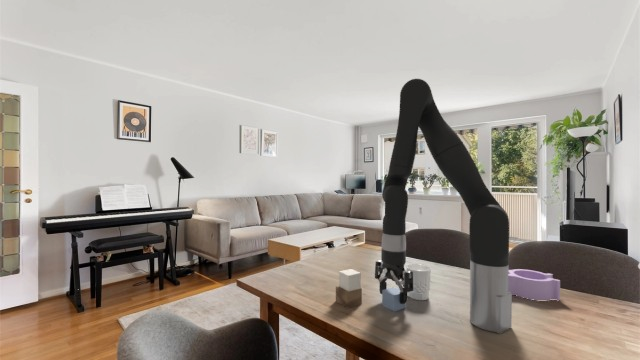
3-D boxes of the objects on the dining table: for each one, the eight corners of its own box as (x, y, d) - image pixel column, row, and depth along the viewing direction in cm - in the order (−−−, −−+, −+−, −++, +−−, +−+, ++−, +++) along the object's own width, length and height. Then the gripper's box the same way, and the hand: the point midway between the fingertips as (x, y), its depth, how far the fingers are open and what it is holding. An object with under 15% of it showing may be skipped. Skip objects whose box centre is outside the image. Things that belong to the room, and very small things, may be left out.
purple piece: (492, 296, 102) (492, 276, 102) (486, 283, 113) (486, 265, 113) (563, 305, 95) (563, 283, 95) (549, 290, 106) (549, 271, 106)
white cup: (414, 302, 96) (414, 271, 96) (401, 293, 104) (402, 264, 104) (435, 299, 98) (435, 269, 98) (421, 290, 106) (421, 263, 106)
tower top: (360, 288, 95) (360, 272, 95) (348, 291, 93) (348, 275, 93) (351, 283, 100) (351, 268, 100) (339, 286, 97) (339, 271, 97)
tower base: (361, 304, 95) (361, 288, 95) (346, 308, 92) (347, 292, 92) (350, 297, 100) (350, 282, 100) (335, 301, 97) (335, 286, 97)
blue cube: (405, 307, 92) (405, 292, 92) (393, 311, 90) (394, 295, 90) (393, 302, 97) (393, 286, 97) (382, 305, 94) (382, 290, 94)
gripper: (419, 251, 89) (418, 304, 90) (386, 241, 101) (385, 288, 102) (402, 254, 85) (401, 310, 86) (369, 244, 97) (368, 292, 98)
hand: (392, 298), depth 94 cm, fingers open, 8 cm apart
